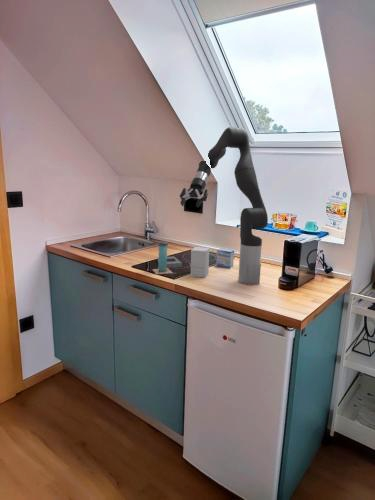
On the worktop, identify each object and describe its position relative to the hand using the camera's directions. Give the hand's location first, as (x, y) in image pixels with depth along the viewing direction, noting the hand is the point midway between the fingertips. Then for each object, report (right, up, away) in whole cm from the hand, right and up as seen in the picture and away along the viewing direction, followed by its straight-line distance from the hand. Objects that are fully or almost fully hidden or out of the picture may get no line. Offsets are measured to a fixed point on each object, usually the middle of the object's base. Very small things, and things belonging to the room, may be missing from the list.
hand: (189, 205), depth 192 cm
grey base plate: (-10, -30, +2) cm, 32 cm away
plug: (-13, -33, -12) cm, 37 cm away
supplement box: (+5, -35, -14) cm, 38 cm away
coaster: (-13, -33, -12) cm, 38 cm away
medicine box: (+18, -31, +2) cm, 36 cm away
